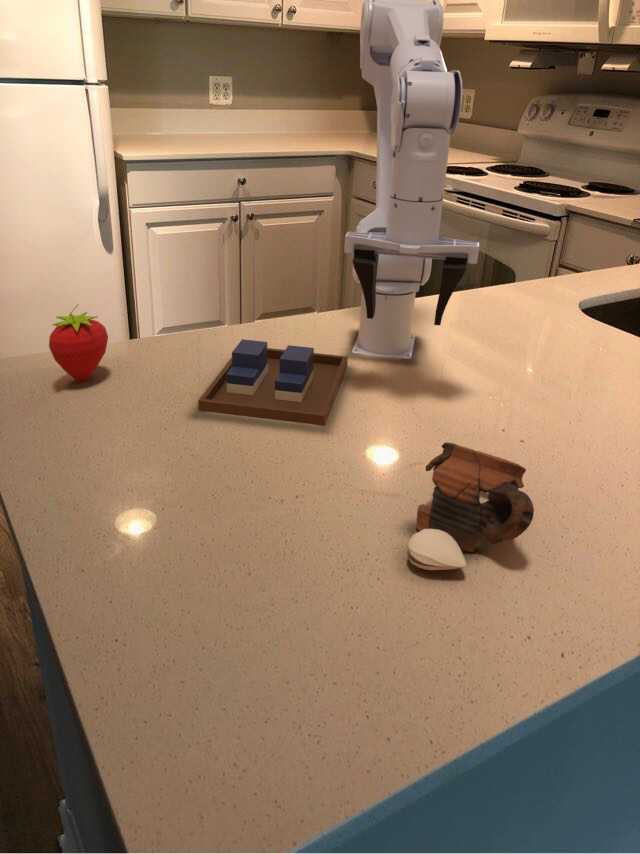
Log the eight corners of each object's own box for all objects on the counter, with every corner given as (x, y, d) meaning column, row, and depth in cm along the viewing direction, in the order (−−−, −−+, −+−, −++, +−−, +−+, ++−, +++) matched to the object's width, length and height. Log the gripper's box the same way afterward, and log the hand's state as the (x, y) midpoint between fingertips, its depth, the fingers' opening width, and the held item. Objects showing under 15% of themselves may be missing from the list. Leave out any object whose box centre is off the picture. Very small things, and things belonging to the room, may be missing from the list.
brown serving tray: (241, 357, 94) (241, 345, 93) (347, 369, 92) (347, 356, 91) (198, 414, 79) (197, 400, 78) (324, 430, 77) (324, 415, 76)
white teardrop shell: (424, 540, 60) (428, 515, 59) (477, 565, 57) (481, 540, 56) (396, 564, 57) (399, 539, 56) (450, 592, 54) (454, 566, 53)
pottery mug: (386, 518, 64) (414, 431, 63) (460, 536, 69) (486, 455, 68) (479, 564, 53) (513, 460, 53) (557, 581, 58) (589, 486, 58)
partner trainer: (243, 369, 89) (242, 338, 87) (267, 372, 88) (268, 340, 86) (226, 392, 83) (225, 359, 81) (253, 395, 82) (253, 362, 80)
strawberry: (123, 375, 87) (116, 297, 83) (84, 399, 81) (73, 316, 76) (84, 367, 89) (74, 289, 84) (42, 389, 83) (29, 307, 78)
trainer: (287, 375, 88) (288, 344, 86) (313, 378, 87) (314, 346, 85) (274, 399, 82) (274, 366, 80) (301, 402, 81) (302, 369, 79)
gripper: (342, 198, 73) (336, 324, 79) (486, 209, 71) (467, 337, 77) (352, 187, 79) (345, 305, 85) (484, 197, 77) (467, 316, 83)
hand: (403, 319), depth 82 cm, fingers open, 7 cm apart
